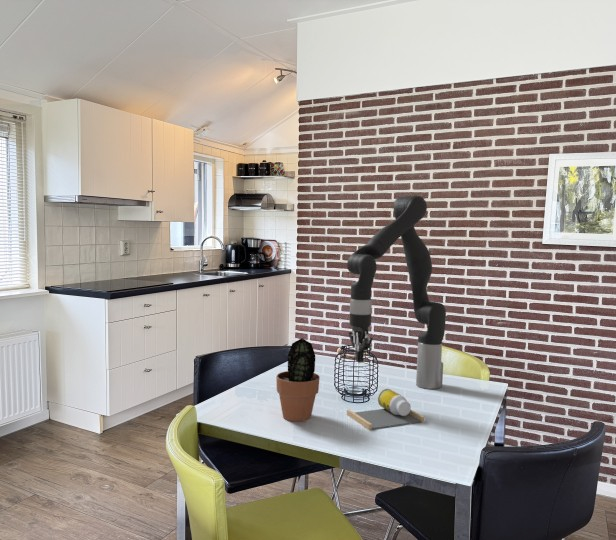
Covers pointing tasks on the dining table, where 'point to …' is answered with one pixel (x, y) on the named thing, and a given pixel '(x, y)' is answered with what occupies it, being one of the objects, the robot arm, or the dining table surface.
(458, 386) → the dining table surface
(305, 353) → the potted plant
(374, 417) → the grey flat rectangular board
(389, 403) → the pill bottle
